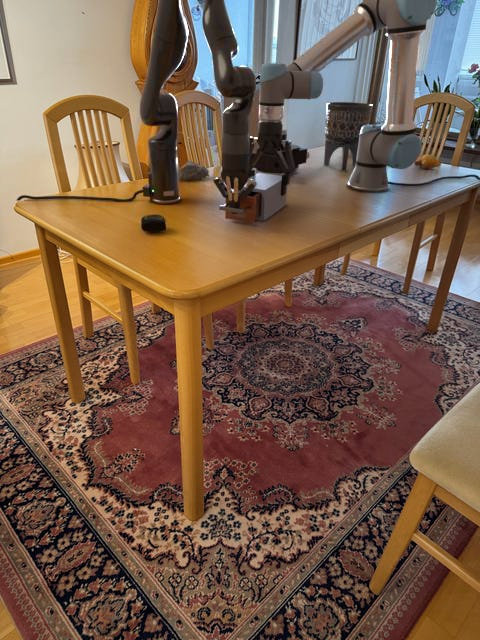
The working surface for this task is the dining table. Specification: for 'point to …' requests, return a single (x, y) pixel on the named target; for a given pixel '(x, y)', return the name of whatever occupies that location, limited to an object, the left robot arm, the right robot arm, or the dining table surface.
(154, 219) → the tape measure
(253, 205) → the drawer
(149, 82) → the left robot arm
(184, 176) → the rock
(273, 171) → the mechanical component
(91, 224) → the dining table surface
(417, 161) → the toy
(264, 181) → the grey rectangular box
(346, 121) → the planter
